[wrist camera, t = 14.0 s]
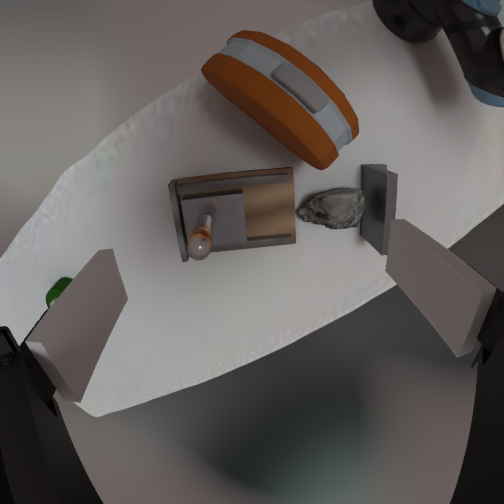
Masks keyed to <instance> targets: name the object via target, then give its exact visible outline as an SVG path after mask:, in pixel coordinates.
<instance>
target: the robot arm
mask: <svg viewBox="0 0 504 504" xmlns="http://www.w3.org/2000/svg"><path fill="white" fill-rule="evenodd" d="M373 2H374V6H375V9H376V12H377V14H378V16H379V17H380V19H381V20H382V22H383V23H384V24H385V25H386V26H387V27H388V28H389V29H390V30H391V31H392V32H393V33H394V34H396V35H397V36H399V37H400V38H402V39H404V40H406V41H409V42H412V43H423V42H426V41H429V40H431V39H433V38H434V37H435V36H436V35H437V34H438V32H439V31H440V30H441V29H442V28H443V30H444V31H445V33H446V35H447V37H448V39H449V42H450V44H451V46H452V48H453V50H454V52H455V54H456V57H457V59H458V61H459V63H460V66H461V68H462V71H463V73H464V77H465V79H466V81H467V83H468V85H469V87H470V89H471V92H472V94H473V95H474V97H475V98H476V99H477V100H479V101H480V102H482V103H484V104H487V105H491V106H496V107H504V27H502V25H501V23H500V21H499V19H498V17H497V15H498V14H499V13H500V11H501V4H500V3H499V2H500V0H373ZM385 271H386V272H387V273H388V274H389V275H390V277H391V278H392V279H393V280H394V281H395V282H396V283H397V284H398V286H399V287H400V288H401V289H402V290H403V291H404V292H405V294H406V295H407V296H408V297H409V298H410V299H411V300H412V302H413V303H414V304H415V305H416V306H417V307H418V309H419V310H420V311H421V312H422V313H423V315H424V316H425V317H426V318H427V319H428V321H429V322H430V323H431V324H432V326H433V327H434V328H435V329H436V331H437V332H438V333H439V334H440V335H441V337H442V338H443V339H444V341H445V342H446V343H447V345H448V346H449V347H450V348H451V350H452V351H453V352H454V353H455V355H456V356H457V357H460V356H462V355H465V354H467V353H469V352H471V351H472V349H473V347H474V345H475V342H476V340H477V339H478V340H479V341H480V342H481V347H480V349H479V351H478V353H477V355H476V357H475V359H474V361H473V363H472V365H471V367H474V365H475V363H477V362H478V366H477V369H478V370H477V383H476V393H475V401H474V409H473V416H472V422H471V428H470V433H469V438H468V443H467V448H466V452H465V456H464V460H463V464H462V468H461V471H460V475H459V479H458V482H457V485H456V488H455V491H454V494H453V497H452V499H451V502H450V504H504V292H501V291H500V290H499V289H498V288H497V287H495V286H494V285H493V284H492V283H491V282H490V281H488V280H487V279H486V278H485V277H482V275H481V274H480V273H479V272H476V270H475V269H474V268H472V267H471V266H470V265H469V264H467V263H465V262H464V261H462V260H461V259H460V258H458V257H457V256H456V255H454V254H453V253H452V252H450V251H449V250H448V249H446V248H445V247H444V246H442V245H441V244H439V243H438V242H437V241H435V240H434V239H432V238H431V237H430V236H428V235H427V234H425V233H424V232H422V231H421V230H420V229H418V228H417V227H415V226H414V225H412V224H411V223H409V222H408V221H406V220H405V219H397V220H391V226H390V237H389V246H388V255H387V263H386V270H385ZM127 300H128V297H127V294H126V291H125V288H124V285H123V282H122V279H121V276H120V273H119V269H118V266H117V263H116V259H115V256H114V252H113V249H106V250H99V251H98V252H97V253H96V254H95V255H94V256H93V257H92V259H91V260H90V261H89V262H88V263H87V264H86V265H85V266H84V268H83V269H82V270H81V271H80V272H79V273H78V274H77V276H76V277H75V278H74V279H73V280H72V281H71V283H70V284H69V285H68V286H67V287H66V289H65V290H64V291H63V292H62V294H61V295H60V296H59V297H58V298H57V300H56V301H55V302H54V303H53V305H52V306H51V307H50V308H49V309H47V310H46V311H45V312H44V314H43V315H42V316H41V318H40V320H38V321H37V323H36V324H35V327H33V328H32V330H31V331H30V332H29V334H28V335H27V336H26V338H25V339H24V341H23V342H22V343H21V345H20V346H19V345H18V344H17V342H16V340H15V338H14V337H13V335H12V333H11V331H10V329H9V328H8V327H6V326H1V327H0V504H103V502H102V500H101V499H100V497H99V495H98V493H97V492H96V490H95V488H94V486H93V484H92V483H91V481H90V479H89V477H88V475H87V473H86V471H85V469H84V467H83V465H82V463H81V461H80V459H79V456H78V454H77V452H76V450H75V448H74V445H73V443H72V441H71V438H70V436H69V433H68V431H67V428H66V425H65V423H64V420H63V418H62V415H61V412H60V409H59V406H58V403H57V402H56V400H55V399H54V397H53V394H54V392H55V390H57V391H58V392H59V394H60V395H61V396H62V398H63V399H64V400H67V401H73V402H79V403H81V400H82V398H83V395H84V393H85V390H86V388H87V385H88V383H89V381H90V378H91V376H92V373H93V371H94V369H95V367H96V364H97V362H98V360H99V358H100V355H101V353H102V351H103V349H104V347H105V344H106V342H107V340H108V338H109V336H110V334H111V332H112V330H113V328H114V325H115V323H116V321H117V319H118V317H119V315H120V313H121V311H122V309H123V307H124V305H125V303H126V301H127Z"/></svg>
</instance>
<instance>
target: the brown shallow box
mask: <svg viewBox="0 0 504 504" xmlns="http://www.w3.org/2000/svg"><path fill="white" fill-rule="evenodd" d="M168 186H169V192H170V199H171V204H172V210H173V216H174V221H175V227H176V232H177V237H178V243H179V248H180V253H181V258H182V262H185V261H188V259H189V256H190V255H189V254H188V248H187V245H188V240H187V235H186V229H185V223H184V217H183V211H182V205H181V200H182V198H183V197H184V196H185V195H192V194H200V193H208V192H217V191H225V190H235V189H242V192H243V201H244V211H245V221H246V232H247V242H244V243H235V244H225V245H216V246H212V247H211V251H210V252H219V251H229V250H238V249H248V248H258V247H267V246H277V245H287V244H292V243H296V231H295V204H294V182H293V168H292V167H286V168H273V169H260V170H249V171H239V172H230V173H221V174H212V175H204V176H196V177H189V178H182V179H175V180H172V181H171V182H170V183H169V184H168Z"/></svg>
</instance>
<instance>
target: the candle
mask: <svg viewBox="0 0 504 504" xmlns="http://www.w3.org/2000/svg"><path fill="white" fill-rule="evenodd" d="M72 280H73V279H71V278H68V277H63V278H61V279H59V280H58V281H57V282H56V284H55V285H54V286H53V287H52V288H51V289H50V290H49V292H48V293H47V295H46V303H47V306H48V308H50V307H51V306H52V305H53V303H54V302H55V301H56V300H57V298H58V297H59V296H60V295H61V294H62V292H63V291H64V290H65V289H66V287H67V286H68V285H69V284H70V283H71V281H72Z"/></svg>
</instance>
